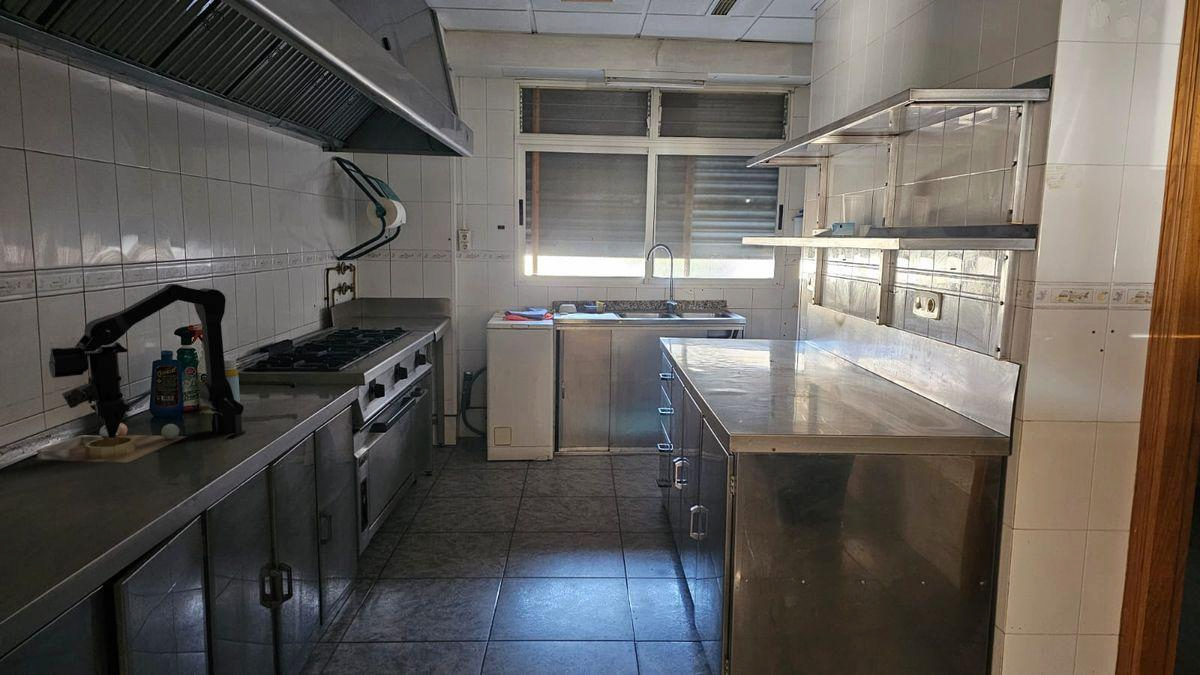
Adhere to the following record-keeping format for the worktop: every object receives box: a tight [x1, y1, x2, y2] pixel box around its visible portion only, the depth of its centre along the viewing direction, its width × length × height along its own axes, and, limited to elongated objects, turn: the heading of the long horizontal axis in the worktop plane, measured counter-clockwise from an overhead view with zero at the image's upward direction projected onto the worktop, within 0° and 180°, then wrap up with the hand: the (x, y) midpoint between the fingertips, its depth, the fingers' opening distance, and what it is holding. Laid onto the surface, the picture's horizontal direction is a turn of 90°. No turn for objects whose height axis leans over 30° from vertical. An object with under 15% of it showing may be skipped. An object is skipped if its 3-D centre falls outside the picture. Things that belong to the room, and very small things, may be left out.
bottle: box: [224, 357, 241, 404], centre depth 231 cm, size 7×7×15 cm
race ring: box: [85, 436, 136, 458], centre depth 177 cm, size 10×10×2 cm
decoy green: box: [160, 423, 180, 440], centre depth 188 cm, size 4×4×4 cm
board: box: [34, 434, 188, 463], centre depth 181 cm, size 23×22×3 cm
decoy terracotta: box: [117, 422, 128, 437], centre depth 189 cm, size 4×4×4 cm
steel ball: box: [99, 425, 120, 440], centre depth 177 cm, size 4×4×4 cm
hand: (110, 435), depth 177 cm, fingers closed on steel ball, 4 cm apart
